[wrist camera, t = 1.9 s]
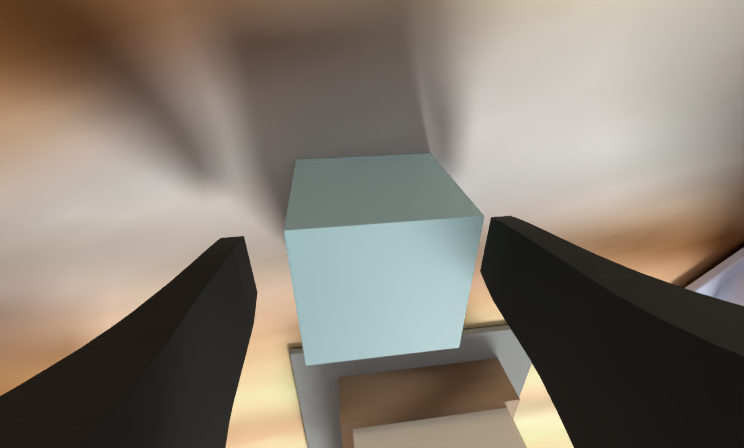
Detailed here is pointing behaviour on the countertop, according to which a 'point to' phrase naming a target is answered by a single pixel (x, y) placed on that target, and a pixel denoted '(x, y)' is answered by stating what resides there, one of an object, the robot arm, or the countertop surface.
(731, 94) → the countertop surface
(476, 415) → the cream slab
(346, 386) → the walnut slab
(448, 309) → the teal cube
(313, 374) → the slate mat
